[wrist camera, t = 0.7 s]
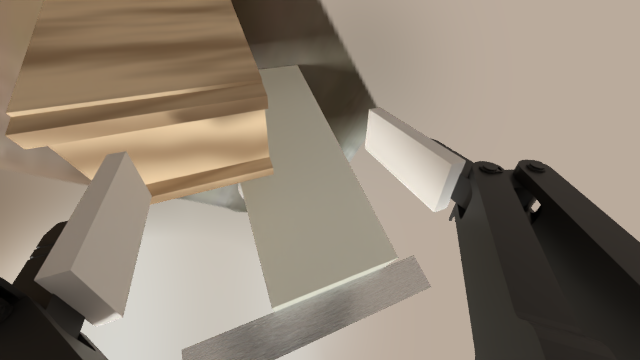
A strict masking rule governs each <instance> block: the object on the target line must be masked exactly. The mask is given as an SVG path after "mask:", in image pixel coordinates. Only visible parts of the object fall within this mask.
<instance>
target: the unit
mask: <svg viewBox="0 0 640 360" xmlns="http://www.w3.org/2000/svg"><path fill="white" fill-rule="evenodd" d="M259 73H260V75H261V78H262V83H263V86H264V88H265V91H266V93H267V97H268V109H265V116H266V126H267V137H268V147H269V157H270V160H271V163H272V166H273V172H274V174H273V175H269V176H265V177H261V178H256V179H252V180H248V181H244V182H240V184H241V188H242V192H243V196H244V200H245V204H246V208H247V212H248V216H249V220H250V223H251V227H252V231H253V235H254V239H255V243H256V247H257V251H258V255H259V258H260V263H261V266H262V271H263V275H264V278H265V283H266V286H267V290H268V295H269V299H270V302H271V306H272V309H273V311H274V312H276V311H278V310H281V309H283V308H286V307H288V306H291V305H293V304H295V303H298V302H300V301H303V300H305V299H308V298H310V297H313V296H315V295H318V294H320V293H322V292H325V291H327V290H330V289H332V288H335V287H337V286H340V285H342V284H345V283H347V282H349V281H352V280H354V279H357V278H359V277H362V276H364V275H367V274H369V273H371V272H374V271H376V270H379V269H381V268H384V267H385V266H387V265H388V264H389V263H391V262H392V261H394V260H395V259H397V258H398V256H397V254H396V252H395V250H394V248H393V246H392V244H391V243H390V241H389V238H388V237H387V235H386V233H385V231H384V229H383V227H382V225H381V224H380V221H379V219H378V218H377V216H376V214H375V212H374V210H373V208H372V206H371V204H370V202H369V201H368V198H367V197H366V195H365V193H364V191H363V189H362V187H361V185H360V183H359V181H358V180H357V178H356V176H355V174H354V172H353V170H352V168H351V166H350V164H349V162H348V160H347V159H346V157H345V155H344V153H343V151H342V149H341V147H340V145H339V143H338V141H337V139H336V138H335V136H334V134H333V132H332V130H331V128H330V126H329V124H328V122H327V120H326V119H325V117H324V115H323V113H322V111H321V109H320V107H319V105H318V103H317V101H316V100H315V98H314V96H313V94H312V92H311V90H310V88H309V86H308V84H307V82H306V80H305V79H304V77H303V75H302V73H301V71H300V69H299V67H298V65H292V66H284V67H276V68H268V69H259Z"/></svg>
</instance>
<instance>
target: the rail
mask: <svg viewBox="0 0 640 360" xmlns="http://www.w3.org/2000/svg"><path fill="white" fill-rule="evenodd" d="M430 287H431V286H430V284H429V282H428V280H427V278H426V277H425V275H424V273H423V271H422V269H421V268H420V266H419V264H418V262H417V260H416V259H415V257H414V255H413V256H411V257H409V258H406V259H403V260H401V261H399V262H396V263H394V264H391V265H389V266H386V267H384V268H381V269H379V270H376V271H374V272H371V273H369V274H367V275H364V276H362V277H359V278H357V279H354V280H352V281H349V282H347V283H345V284H342V285H340V286H337V287H335V288H332V289H330V290H327V291H325V292H322V293H320V294H318V295H315V296H313V297H310V298H308V299H305V300H303V301H300V302H298V303H295V304H293V305H291V306H288V307H286V308H283V309H281V310H278V311H276V312H274V313H271V314H269V315H266V316H264V317H261V318H259V319H256V320H254V321H251V322H249V323H246V324H244V325H242V326H239V327H237V328H234V329H232V330H229V331H227V332H224V333H222V334H219V335H217V336H215V337H212V338H210V339H207V340H205V341H202V342H200V343H197V344H195V345H193V346H190V347H188V348H185V349H183V350H182V359H183V360H275V359H277V358H279V357H281V356H283V355H285V354H288V353H290V352H292V351H294V350H296V349H298V348H301V347H303V346H305V345H307V344H309V343H311V342H313V341H316V340H318V339H320V338H322V337H324V336H326V335H328V334H331V333H333V332H335V331H337V330H339V329H341V328H344V327H346V326H348V325H350V324H352V323H354V322H357V321H359V320H361V319H363V318H365V317H367V316H370V315H372V314H374V313H376V312H378V311H380V310H382V309H385V308H387V307H389V306H391V305H393V304H395V303H397V302H400V301H402V300H404V299H406V298H408V297H410V296H413V295H415V294H417V293H419V292H421V291H423V290H426V289H428V288H430Z"/></svg>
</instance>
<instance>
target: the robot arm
mask: <svg viewBox="0 0 640 360" xmlns="http://www.w3.org/2000/svg"><path fill="white" fill-rule="evenodd" d="M365 149H366V150H367V151H368V152H369V153H370V154H371V155H373V156H374V157H375V158H376V159H377V160H378V161H379V162H380V163H381V164H382V165H383V166H384V167H385V168H387V169H388V170H389V171H390V172H391V173H392V174H393V175H394V176H395V177H396V178H397V179H398V180H400V181H401V182H402V183H403V184H404V185H405V186H406V187H407V188H408V189H409V190H410V191H411V192H413V193H414V194H415V195H416V196H417V197H418V198H419V199H420V200H421V201H422V202H423V203H425V205H427V206H428V207H429V208H430V209H431V210H432V211H433V212H437V211H440V210H443V209H446V208H447V206H448V203H449V201H450V199H452V200H453V201H454V202H456V204H455V206H454V208H453V211H452V213H451V215H450V217H449V221H452V218H453V217H455V222H456V227H457V234H458V241H459V247H460V254H461V261H462V267H463V274H464V280H465V287H466V294H467V300H468V307H469V314H470V321H471V326H472V327H471V328H472V334H473V340H474V348H475V360H640V242H639V241H637V240H636V239H635V238H634V237H633V236H632V235H630V234H629V233H628V232H627V231H626V230H624V229H623V228H622V227H621V226H620V225H618V224H617V223H616V222H615V221H614V220H613V219H611V218H610V217H609V216H608V215H606V214H605V213H604V212H603V211H602V210H601V209H599V208H598V207H597V206H596V205H595V204H594V203H592V202H591V201H590V200H589V199H588V198H586V197H585V196H584V195H583V194H582V193H580V192H579V191H578V190H577V189H576V188H575V187H573V186H572V185H571V184H570V183H569V182H567V181H566V180H565V179H564V178H563V177H562V176H560V175H559V174H558V173H557V172H556V171H554V170H553V169H552V168H551V167H549V166H548V165H545V164H543V163H542V162H539V161H535V160H522V161H519V163H518V164H517V166H516V168H515V169H514V170H504V169H503V168H502V167H500V166H498V165H496V164H494V163H490V162H485V161H479V162H475V163H473V162H472V161H470V160H468V159H467V158H465V157H463V156H462V155H460V154H458V153H457V152H455V151H452V149H450V148H449V147H446V146H445V145H444V144H442V143H440V142H439V141H436V140H434V139H430V138H428V137H427V136H425V135H424V134H422V133H420V132H419V131H417V130H416V129H414V128H412V127H411V126H409V125H407V124H405V123H404V122H403V121H401V120H399V119H398V118H396V117H395V116H393V115H391V114H390V113H388V112H386V111H385V110H383V109H382V108H373V109H369V115H368V124H367V134H366V143H365ZM151 198H152V195H151V194H150V192H149V190H148V188H147V187H146V185H145V183H144V181H143V180H142V178H141V176H140V174H139V173H138V171H137V169H136V167H135V165H134V164H133V162H132V160H131V158H130V157H129V155H128V153H127V151H125V152H119V153H113V154H107V155H106V157H105V159H104V161H103V162H102V164H101V166H100V167H99V169H98V171H97V173H96V174H95V176H94V178H93V179H92V181H91V183H90V185H89V186H88V188H87V190H86V191H85V193H84V195H83V197H82V198H81V200H80V202H79V204H78V205H77V207H76V209H75V210H74V212H73V214H72V215H71V217H70V219H69V221H65V222H60V223H58V224H56V225H55V226H54V227H53V228H52V229H51V230H50V231H48V232H47V233H46V234H45V235H44V236H43V238H42V239H41V241H40V242H39V244H38V245H37V247H36V248H37V249H36V250H34V252H33V253H32V255H31V256H30V260H28V261H27V262H26V264H25V265H24V267H23V269H22V270H21V272H20V273H19V275H18V276H17V278H16V279H15V281H14V282H13V284H10V283H9V282H7V281H6V280H4V279H3V278H1V277H0V360H108V359H107V358H106V357H105V356H104V355H103V354H102V352H101V351H100V350H99V349H98V348H97V347H96V346H95V345H94V344H93V343H92V342H91V341H90V340H89V339H88V337H87V336H86V335H84V334H83V333H81V332H80V330H81V328H82V325H83V322H84V319H86V320H87V321H88V322H90V323H91V324H92V325H94V326H95V327H96V326H99V325H102V324H105V323H108V322H111V321H114V320H117V319H120V318H123V315H124V311H125V307H126V302H127V298H128V294H129V290H130V286H131V281H132V277H133V273H134V269H135V265H136V260H137V256H138V252H139V248H140V244H141V239H142V235H143V231H144V227H145V223H146V219H147V214H148V210H149V206H150V202H151ZM536 200H538V201H539V203H540V204H541V206H540V207H539V208H538V210H537V211H536V212H534V211H533V210H532V209H531V207H532V205H533V204H534V203H535V201H536Z"/></svg>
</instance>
